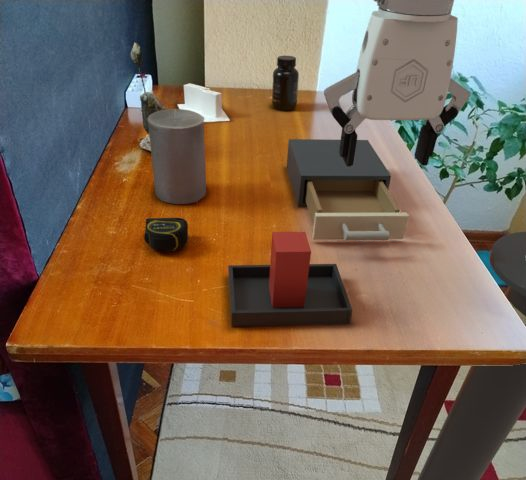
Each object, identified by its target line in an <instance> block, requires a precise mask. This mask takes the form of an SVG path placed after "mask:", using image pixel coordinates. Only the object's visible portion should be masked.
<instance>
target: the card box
mask: <svg viewBox="0 0 526 480" xmlns="http://www.w3.org/2000/svg"><path fill="white" fill-rule="evenodd" d="M270 245H271V247H270V259H269V260H270V261H269V263H270V264H269V265H270V277H269V290H270V296H271V302H272V308H287V307H304V305H305V297H306V289H307V281H308V273H309V265H310V264H311V258H312V257H311V256H312V249H311V245H310V243H309V239H308V236H307V233H306V231H272V232H271V244H270Z"/></svg>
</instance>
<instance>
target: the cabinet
mask: <svg viewBox="0 0 526 480" xmlns="http://www.w3.org/2000/svg"><path fill="white" fill-rule="evenodd" d="M340 141H341V139H313V138H312V139H309V138H305V139H304V138H302V139H301V138H289V139H288V142H287V143H288V144H287V155H286V157H287V158H286V170H287V174H288V178H289V181H290V185H291V188H292V191H293V192H292V193H293V195H294V199H295V202H296V205H297V207H298V208H308V207H307V204H306V201H305V198H304V185H305V180H382V181H383V183H384V184H385V186H386V188H387V189H388V190H389V188H390V184H391V179H392V174H391V173H390V172H389V170H388V169H387V167H386V165H385V164H384V162H383V161H382V160H381V158H380V156H379V155H378V154H377V151H376V150H375V149H374V147H373V145H372V144H371V143H370V141H369V140H368V139H357V143H356V149H355V155H354V162H353V165H352V166H346V164H345V162H344V160H343V158H342V157H340V154H339V149H340Z"/></svg>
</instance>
